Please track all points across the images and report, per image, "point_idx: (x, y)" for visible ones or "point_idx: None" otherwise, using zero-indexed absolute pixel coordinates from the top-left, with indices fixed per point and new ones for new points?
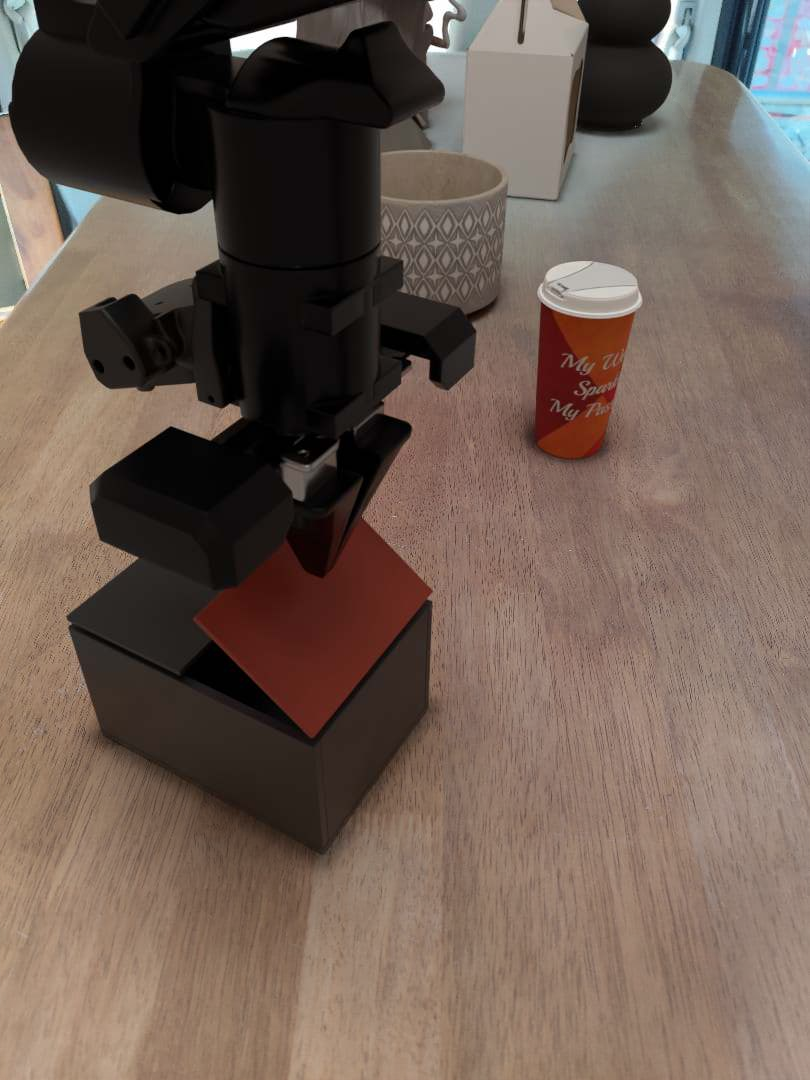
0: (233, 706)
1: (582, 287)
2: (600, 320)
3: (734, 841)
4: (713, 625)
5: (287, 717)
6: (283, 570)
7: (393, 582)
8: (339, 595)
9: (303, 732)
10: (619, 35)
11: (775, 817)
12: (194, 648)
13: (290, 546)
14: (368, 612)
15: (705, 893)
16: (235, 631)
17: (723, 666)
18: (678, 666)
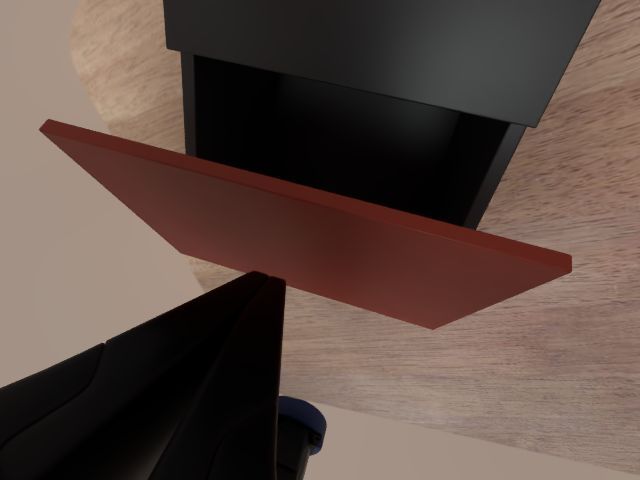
0: (186, 143)
1: None
2: None
3: (361, 391)
4: (563, 415)
5: (371, 104)
6: (263, 217)
7: (406, 308)
8: (320, 270)
9: (358, 128)
10: None
11: (383, 409)
12: (209, 44)
13: (193, 300)
14: (335, 288)
15: (325, 375)
16: (120, 183)
17: (511, 412)
18: (507, 389)
